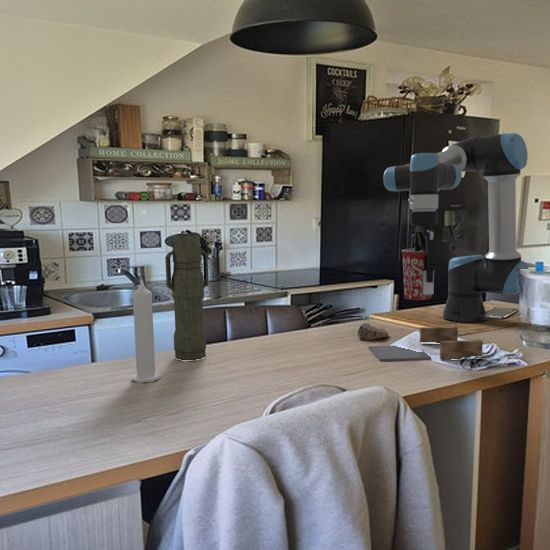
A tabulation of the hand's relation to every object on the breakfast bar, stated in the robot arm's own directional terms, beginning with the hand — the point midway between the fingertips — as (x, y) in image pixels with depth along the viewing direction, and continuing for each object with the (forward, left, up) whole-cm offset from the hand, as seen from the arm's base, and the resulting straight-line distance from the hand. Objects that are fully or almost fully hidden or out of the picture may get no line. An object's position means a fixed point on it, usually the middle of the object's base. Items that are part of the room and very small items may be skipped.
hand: (422, 291), depth 155 cm
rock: (+9, -20, -18) cm, 29 cm away
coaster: (+7, 0, -18) cm, 19 cm away
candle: (+75, +16, -18) cm, 78 cm away
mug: (0, -1, -2) cm, 2 cm away
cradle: (-8, -1, -18) cm, 20 cm away
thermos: (+66, -3, -18) cm, 68 cm away
